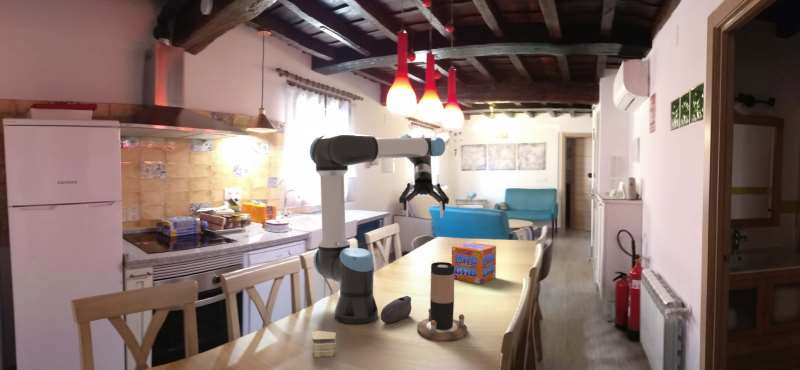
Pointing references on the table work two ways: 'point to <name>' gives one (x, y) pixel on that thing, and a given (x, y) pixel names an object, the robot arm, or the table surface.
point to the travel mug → (442, 295)
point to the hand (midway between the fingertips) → (424, 215)
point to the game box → (474, 262)
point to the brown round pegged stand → (430, 332)
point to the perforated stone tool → (396, 310)
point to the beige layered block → (323, 343)
